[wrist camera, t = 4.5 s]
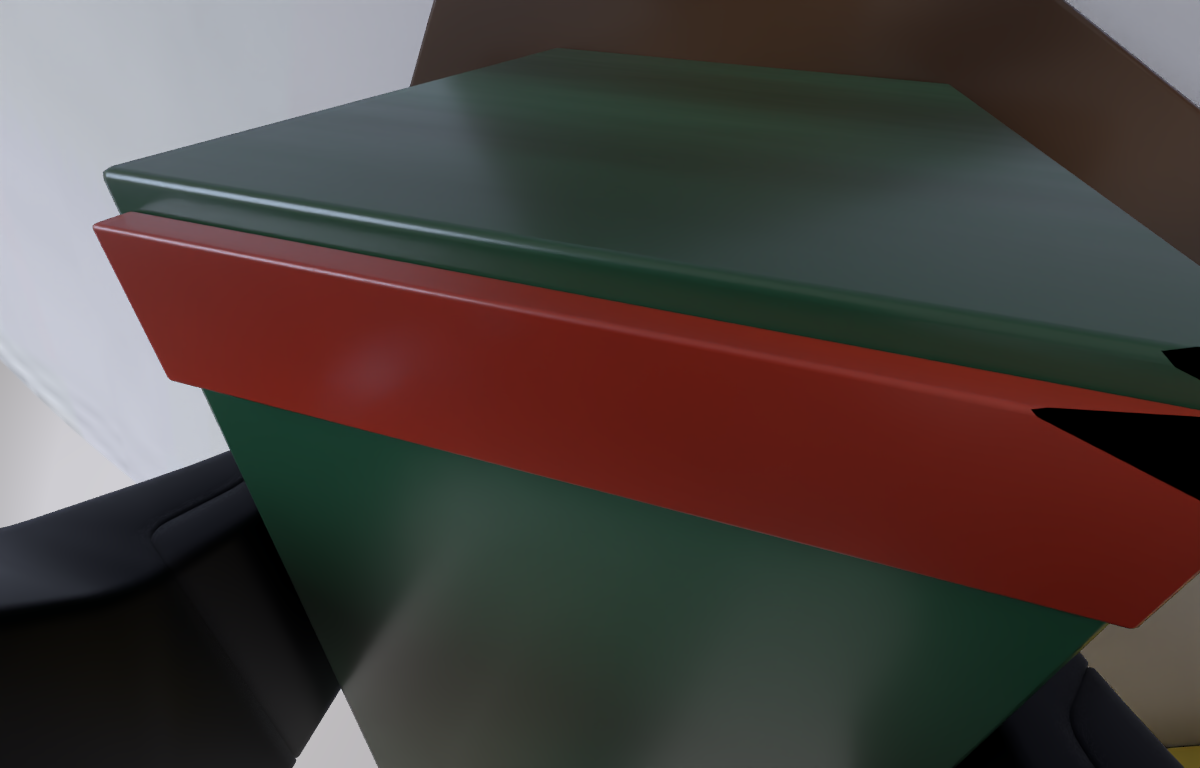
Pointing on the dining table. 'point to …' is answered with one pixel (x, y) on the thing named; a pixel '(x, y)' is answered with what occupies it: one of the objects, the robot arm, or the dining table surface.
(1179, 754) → the teapot
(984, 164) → the green box
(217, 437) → the dining table surface
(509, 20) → the brown square board
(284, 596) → the robot arm
